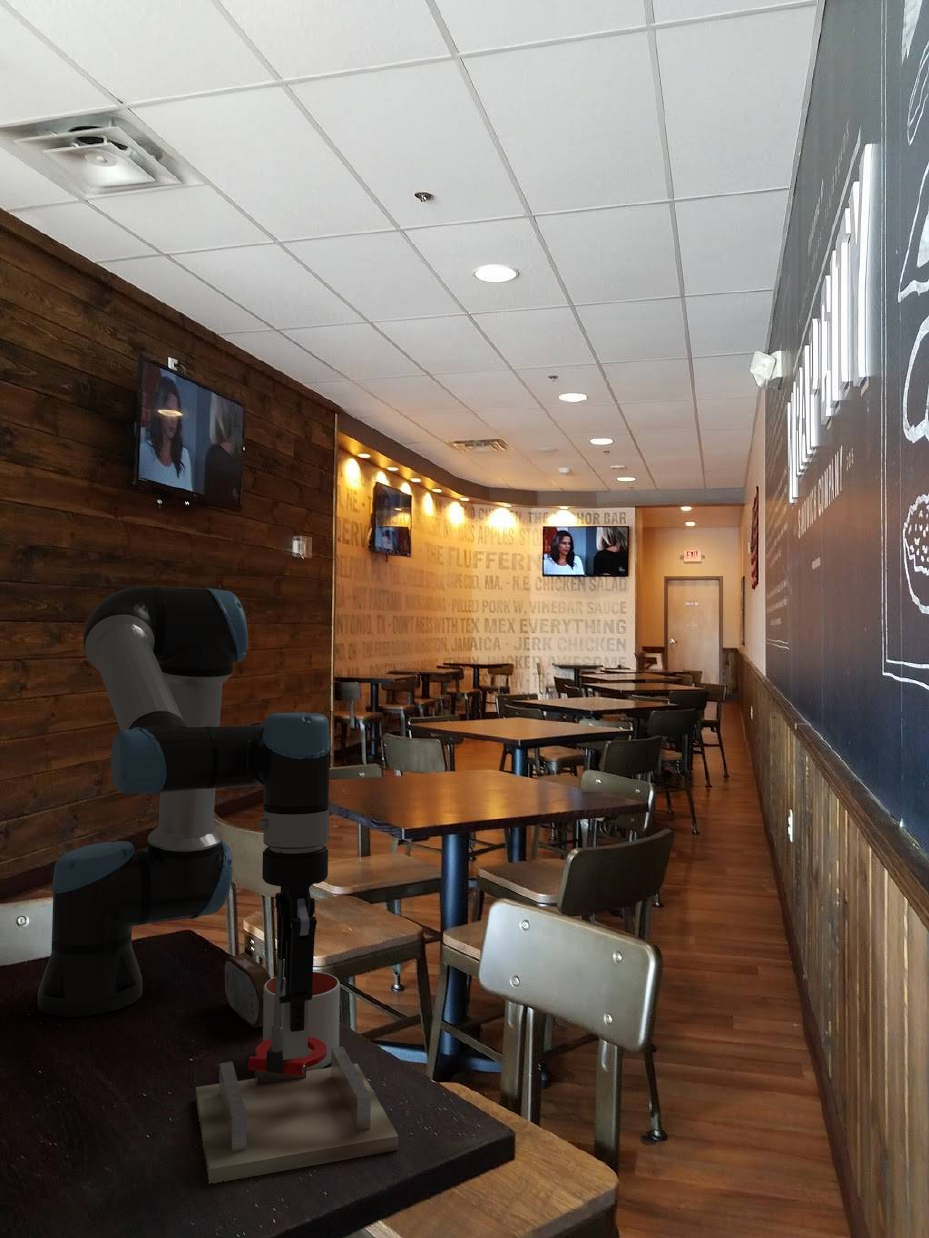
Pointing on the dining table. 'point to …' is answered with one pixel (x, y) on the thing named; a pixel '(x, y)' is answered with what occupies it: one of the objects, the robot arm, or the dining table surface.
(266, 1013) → the cup
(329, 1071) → the keeper board
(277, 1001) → the tow hook
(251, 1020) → the tin
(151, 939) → the dining table surface
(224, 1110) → the keeper rails
